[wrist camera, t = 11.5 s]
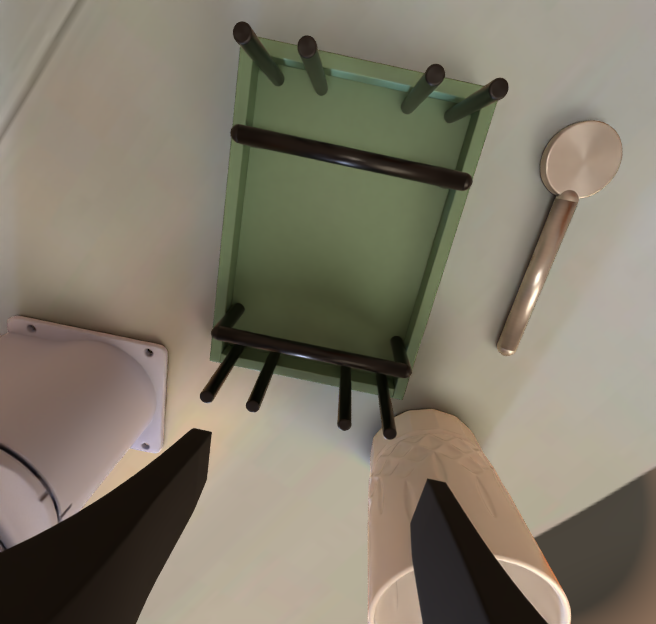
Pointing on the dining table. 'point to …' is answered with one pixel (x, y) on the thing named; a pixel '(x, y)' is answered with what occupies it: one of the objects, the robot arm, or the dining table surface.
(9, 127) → the dining table surface
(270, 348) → the dish rack
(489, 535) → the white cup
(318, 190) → the drip tray
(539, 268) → the round metal paddle
